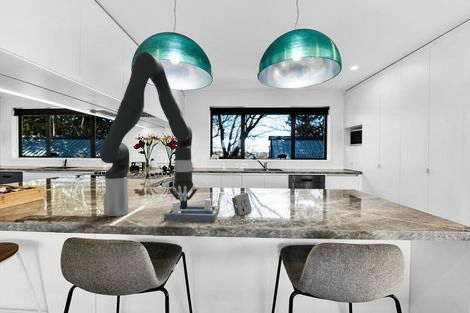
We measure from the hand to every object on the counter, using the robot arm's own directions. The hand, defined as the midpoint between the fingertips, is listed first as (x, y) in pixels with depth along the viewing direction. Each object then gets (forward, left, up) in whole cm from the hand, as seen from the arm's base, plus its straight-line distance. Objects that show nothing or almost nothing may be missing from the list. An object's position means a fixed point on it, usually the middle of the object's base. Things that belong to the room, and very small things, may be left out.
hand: (183, 208), depth 101 cm
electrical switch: (+25, +9, -4) cm, 27 cm away
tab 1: (-4, 0, -3) cm, 4 cm away
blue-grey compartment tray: (+3, +3, -4) cm, 6 cm away
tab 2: (+10, +6, -3) cm, 12 cm away
